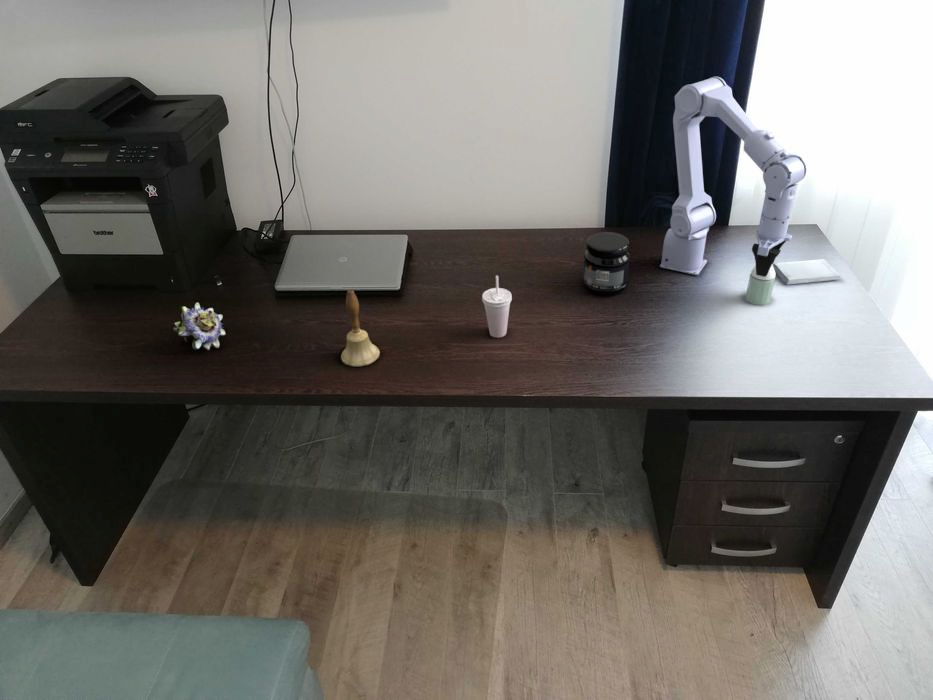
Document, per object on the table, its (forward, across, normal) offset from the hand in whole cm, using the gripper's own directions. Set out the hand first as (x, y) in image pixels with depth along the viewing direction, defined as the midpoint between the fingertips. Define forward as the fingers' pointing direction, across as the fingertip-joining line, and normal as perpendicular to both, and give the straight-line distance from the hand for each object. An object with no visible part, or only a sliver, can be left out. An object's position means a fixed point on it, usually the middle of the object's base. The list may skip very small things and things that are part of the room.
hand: (763, 270), depth 159 cm
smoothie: (+8, -39, +46) cm, 61 cm away
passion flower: (+8, -73, +103) cm, 126 cm away
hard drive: (+8, +16, -7) cm, 19 cm away
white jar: (+2, 0, 0) cm, 2 cm away
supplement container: (+8, -10, +33) cm, 35 cm away
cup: (+7, 0, 0) cm, 7 cm away
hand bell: (+8, -60, +68) cm, 91 cm away
